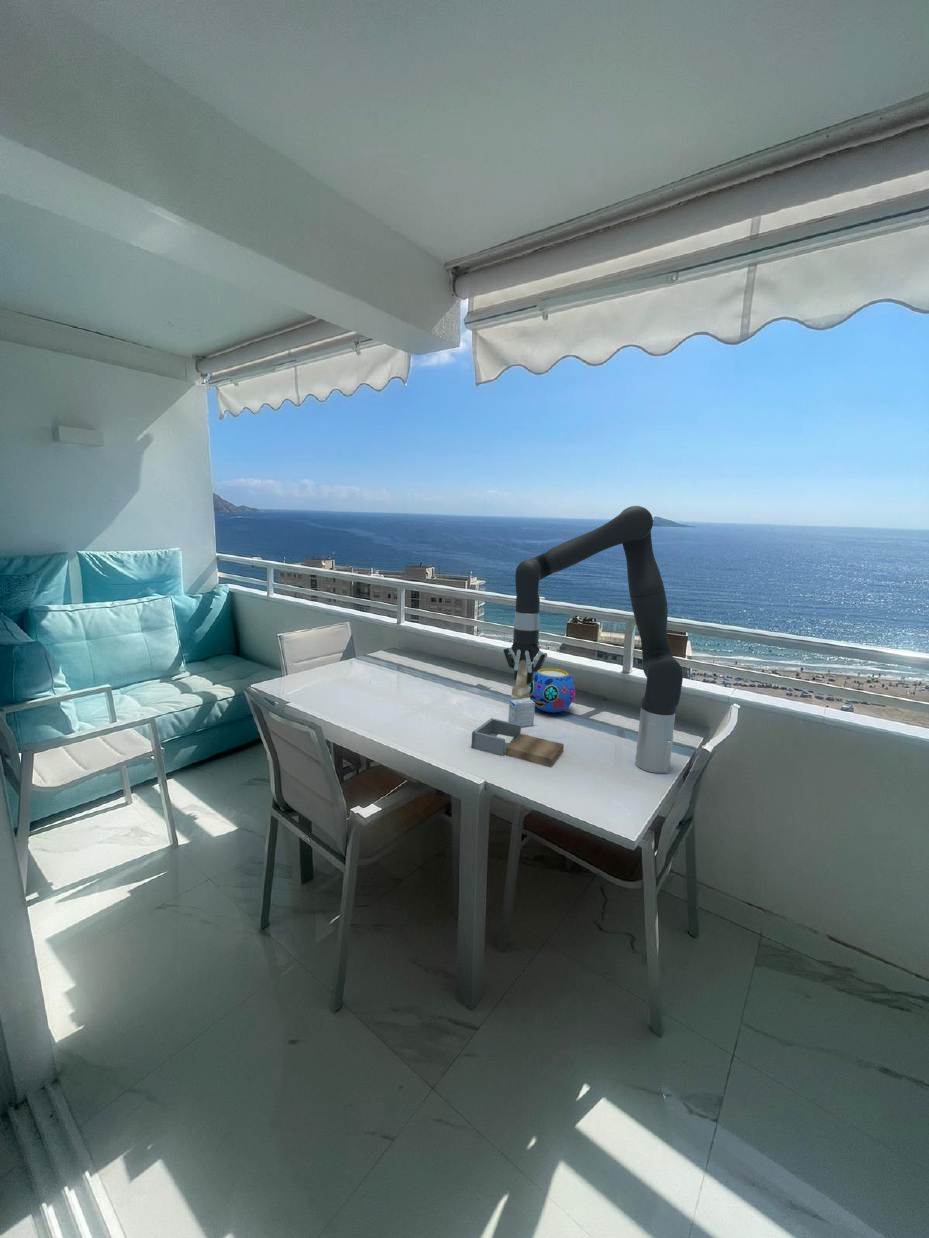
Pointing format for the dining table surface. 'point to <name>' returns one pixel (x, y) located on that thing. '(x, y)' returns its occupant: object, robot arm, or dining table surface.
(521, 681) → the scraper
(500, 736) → the cream tile
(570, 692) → the ceramic pot
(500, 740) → the box
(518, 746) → the walnut plate
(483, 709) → the dining table surface
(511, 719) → the medicine box
